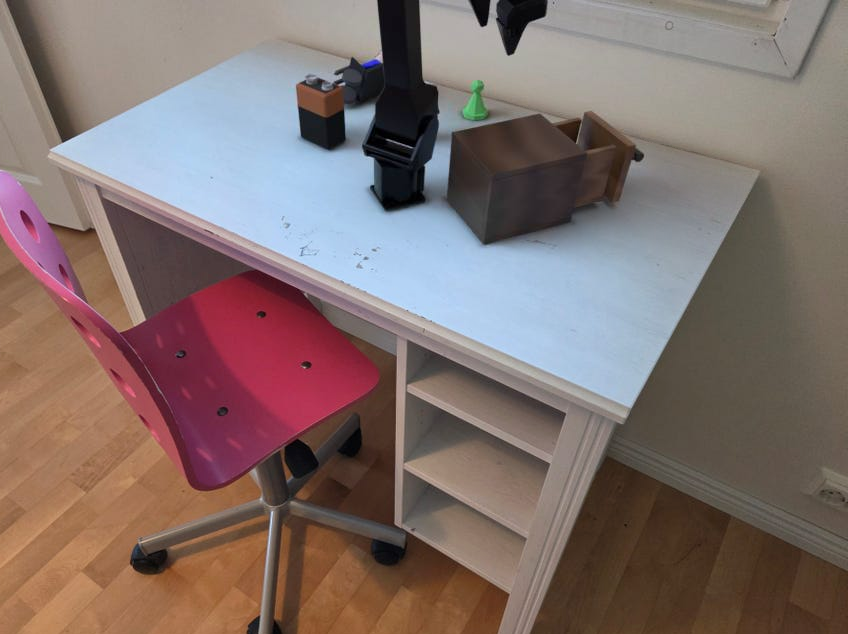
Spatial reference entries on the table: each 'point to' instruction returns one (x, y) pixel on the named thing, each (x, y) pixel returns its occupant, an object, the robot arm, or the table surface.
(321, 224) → the table surface
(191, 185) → the table surface
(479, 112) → the game piece
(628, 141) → the drawer
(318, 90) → the battery
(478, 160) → the cabinet
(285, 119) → the table surface
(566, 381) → the table surface
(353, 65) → the character figurine
